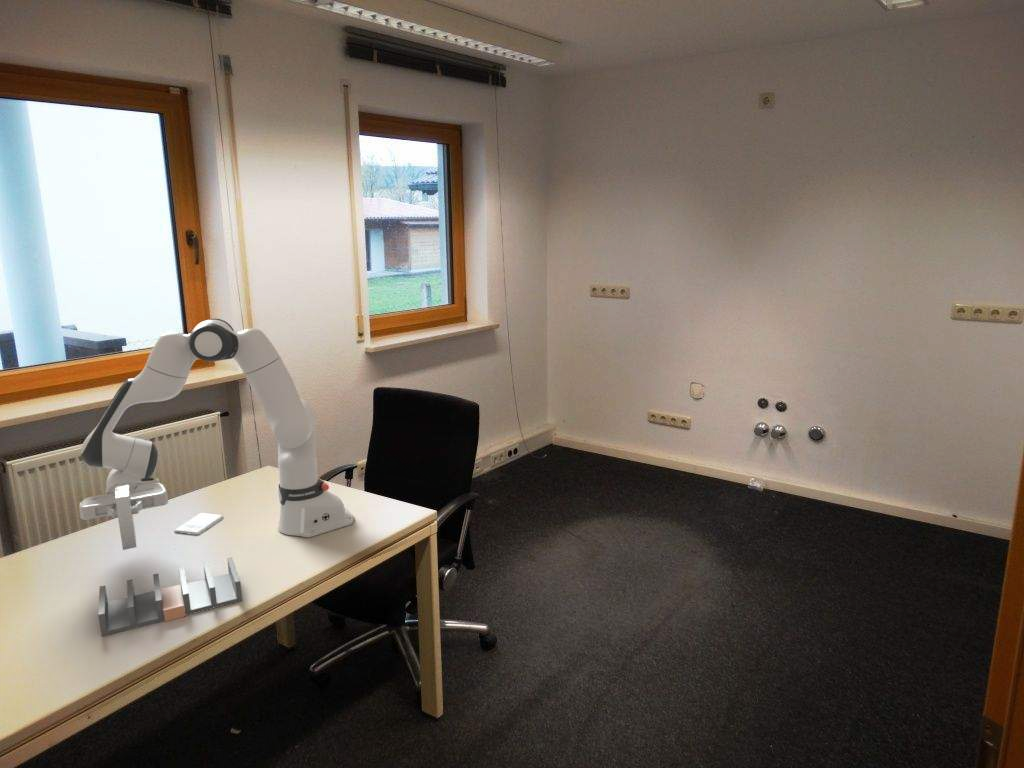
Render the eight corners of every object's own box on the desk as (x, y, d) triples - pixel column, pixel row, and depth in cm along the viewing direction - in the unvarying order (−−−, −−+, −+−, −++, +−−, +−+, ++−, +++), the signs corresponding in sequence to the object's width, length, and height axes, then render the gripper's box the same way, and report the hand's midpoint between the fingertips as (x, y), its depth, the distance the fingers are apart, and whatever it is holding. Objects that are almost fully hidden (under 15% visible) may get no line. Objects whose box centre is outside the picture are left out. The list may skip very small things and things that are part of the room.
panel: (135, 534, 179) (128, 485, 176) (136, 547, 173) (128, 495, 169) (122, 537, 178) (115, 487, 174) (123, 550, 171) (115, 498, 168)
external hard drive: (223, 519, 216) (198, 537, 205) (200, 517, 218) (174, 534, 206) (222, 514, 216) (197, 532, 204) (200, 512, 218) (173, 529, 206)
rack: (234, 575, 181) (232, 557, 180) (242, 602, 169) (240, 582, 168) (102, 606, 167) (99, 586, 166) (101, 637, 154) (98, 616, 153)
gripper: (77, 491, 179) (75, 510, 168) (164, 476, 189) (167, 493, 177) (81, 513, 181) (79, 533, 169) (167, 497, 191) (170, 516, 179)
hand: (125, 513), depth 173 cm, fingers closed on panel, 3 cm apart
